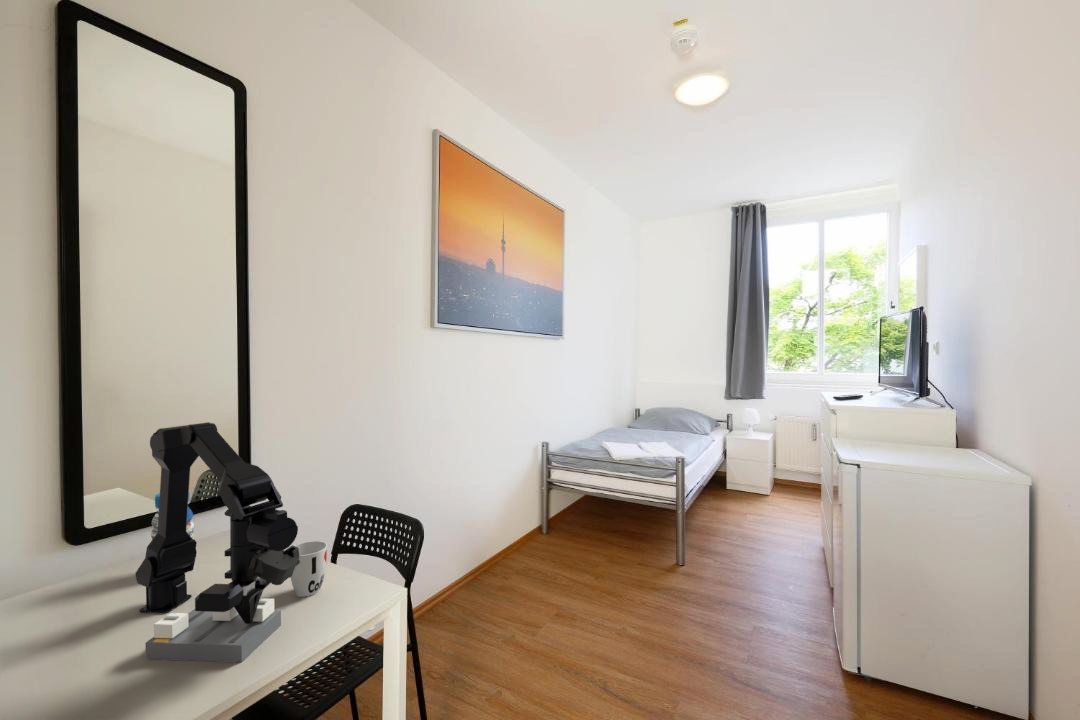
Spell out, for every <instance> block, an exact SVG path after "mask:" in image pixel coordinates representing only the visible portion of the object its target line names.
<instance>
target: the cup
mask: <svg viewBox="0 0 1080 720" xmlns="http://www.w3.org/2000/svg"><path fill="white" fill-rule="evenodd" d="M294 546H296V547H298V548H299V557H300V558H299V560H300V563H299V564H298V565H297V566H295V569H294V571H293V574H292V576H291V577H290V581H291V585H292V587H293V590H294V593H295V594H296V596H297V597H299V596H300V597H299V598H306V597H305V596H307V597H311V596H314V595H316V594H317V592H318V591H319V590H321V589H322V585H323V582H324V579H325V573H326V567H327V556H328V555H327V554H328V544H327V542H325V541H322V540H311V541H304V542H302V543H301V542H300V543H299V544H296V545H294ZM319 592H320V591H319ZM319 592H318V593H319ZM315 593H316V594H315ZM313 594H314V595H313ZM310 595H311V596H310Z"/></svg>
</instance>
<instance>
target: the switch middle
mask: <svg viewBox="0 0 1080 720" xmlns="http://www.w3.org/2000/svg"><path fill="white" fill-rule="evenodd" d="M237 615H238V612H237V611H236V609H235V608H234V607H233V608H232V609H231V610H229V611H226V612H213V620H215V621H231V620H232V619H233V618H234V617H236V616H237Z"/></svg>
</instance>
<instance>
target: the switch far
mask: <svg viewBox="0 0 1080 720" xmlns="http://www.w3.org/2000/svg"><path fill="white" fill-rule="evenodd" d="M274 610H275V598H263V597H260V600H259V603H258V606H257V609H256V612H255V615H254V618H253V621H261V622H263V621H264V620H265V619H266V618H267V617H268V616H270V615H271V614H272V613H273V612H274Z"/></svg>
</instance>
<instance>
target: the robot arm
mask: <svg viewBox="0 0 1080 720" xmlns="http://www.w3.org/2000/svg"><path fill="white" fill-rule="evenodd" d="M149 446H150V449H151V456H152V458H153V459H154V460H155V462H156V463H157V464H158V465H159V466H160V471H161V472H160V485H159V487H160V488H159V493H160V500H159V509H158V510H159V517H158V532H157V534H156V536H155V537H154V538H153V540H152V539H151V541H150V542H149V544H148V545H147V546H146V551H145V557H144V559H143V560H142V562H141V564H140V565H139V567H138V569H137V570H136V571H135V574H134V575H135V580H136V583H137V584H139V585H141V586H142V587H145V601H146V602H145V603H146V605H145V606H143V607H140V609H138V610H139V611H138V612H139V613H152V614H153V613H158V614H160V613H161V614H164V613H165V614H166V613H167V614H168V613H169V612H171V611H172V610H174V609H176V608H177V607H179V606H180V605H182V604H184V603H185V602H186V601H188V600H190V599H191V598H192V594H188V584H187V583H188V581H187V580H186V573H188V572H193V570H194V567H195V562H196V559H197V552H198V551H197V541H196V540H195V539H194V538H193V539H192V537H191V536H190V535H189V534H188V533H187V531H186V527H187V512H188V507H189V503H188V496H189V497H190V480H191V479H190V478H191V477H190V476H191V468H192V466H193V464H194V463H195V462H196V460H197V459H198V458H200V459H201V460H202V461H203V462H204V464H205V465H206V466H207V467H208V468H209V470H210V471H211V473H212V474H213V475H214V476H215V477H216V479H217V480H218V481H219V487H218V494H219V495H220V498H221V499H222V502H223V504H224V505H225V507H226V508H227V510H226V511H224V516H227V517H229V518H230V519H229V524H230V529H229V530H230V532H229V533H230V535H229V536H230V537H229V539H230V542H229V545H230V547H229V548H228V549H226V550H224V557H229V558H230V561H229V562H230V564H229V565H230V567H229V568H230V569H229V570H227V571H226V572H224V579H229V580H231V582H229V583H214V584H212V585H211V586H209V587H208V588H206V589H205V590H203V591H201V592H200V593H199V594H197V596H196V597H195V598H194V609H195V611H207V612H226V611H229V610H231V609H232V608H233V607H234V608H235V609H236V611H237V612H238V614H239V615H240V617H241V618H242V620H243V621H244V623H246V624H250V623H251V622H252V621H253V618H254V615H255V612H256V609H257V606H258V603H259V600H260V598H262V594H263V592H264V590H265V589H266V588H268V586H269V585H270V584H271V585H274V586H280V585H283V583H284V582H285V581H287V580H288V579H289V578H290V579H291V576H292V574H293V571H294V569H295V566H297V565H298V564H299V563H300V560H299V558H300V557H299V548H298V547H296V546H295V545H292V544H293V543H294V542H295V540H296V539H297V536H298V531H299V527H298V525H297V522H296V521H295V520H294V519H293V518H291V517H289V516H288V511H287V510H285V509H284V510H283V509H282V510H280V509H279V508H283V507H284V504H283V502H282V496H281V494H280V492H279V491H278V489H277V487H276V486H275V484H274V482H273V479H272V477H270V475H269V474H268V473H267V472H266V471H264V470H263V469H262V468H261V467H260V466H258V465H255V464H252V463H248V462H246V461H244V460H243V459H242V458H241V457H240V456H239V454H238V453H237V452H236V451H235V450H234V449H233V447H231V445H230V444H229V443H228V442H227V441H226V440H225V438H224V437H223V436H222V435H221V434H220V433H219V431H218V427H217V426H216V424H215V423H214V422H200V423H192V424H191V423H190V424H185V425H184V424H183V425H178V426H177V425H176V426H170V427H169V426H168V427H163V428H162V427H161V428H158V429H157V430H156V431H155V432H153V434H152V435H151V437H150V439H149Z"/></svg>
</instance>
